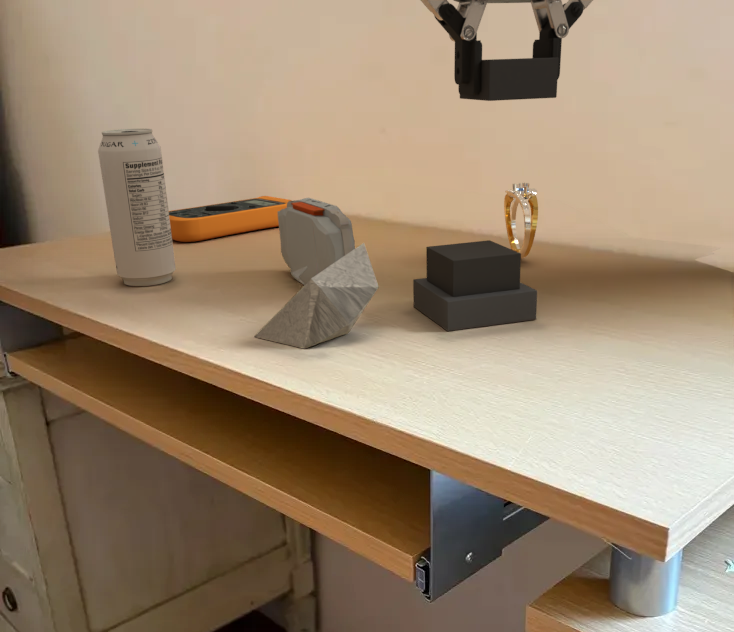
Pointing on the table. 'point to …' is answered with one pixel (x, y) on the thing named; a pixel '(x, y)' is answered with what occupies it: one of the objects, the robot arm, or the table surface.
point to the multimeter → (225, 218)
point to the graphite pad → (517, 79)
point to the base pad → (474, 306)
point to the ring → (530, 228)
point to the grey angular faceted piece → (325, 303)
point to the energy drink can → (137, 206)
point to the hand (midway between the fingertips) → (507, 90)
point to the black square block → (473, 268)
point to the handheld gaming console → (313, 236)
